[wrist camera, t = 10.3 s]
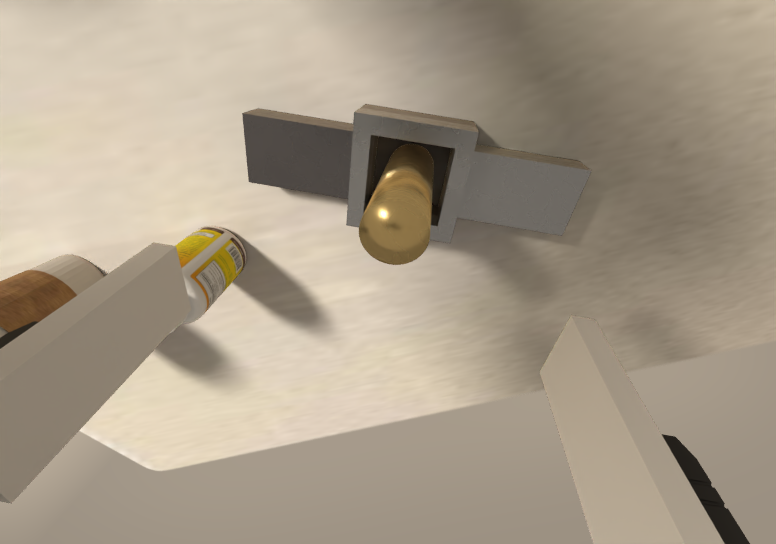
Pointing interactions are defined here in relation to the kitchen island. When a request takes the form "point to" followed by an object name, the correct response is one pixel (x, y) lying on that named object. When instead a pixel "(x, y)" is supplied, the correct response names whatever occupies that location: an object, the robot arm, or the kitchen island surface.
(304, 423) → the kitchen island surface
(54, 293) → the coffee cup
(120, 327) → the robot arm
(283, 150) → the grey plate with loop
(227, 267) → the supplement bottle
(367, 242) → the pin
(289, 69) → the kitchen island surface
